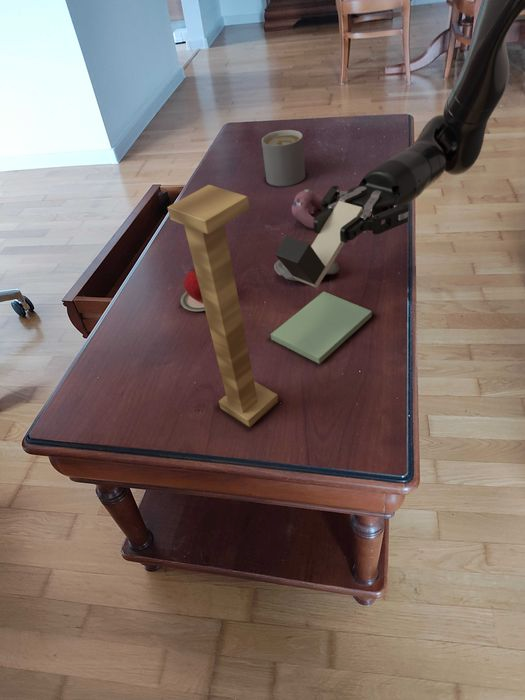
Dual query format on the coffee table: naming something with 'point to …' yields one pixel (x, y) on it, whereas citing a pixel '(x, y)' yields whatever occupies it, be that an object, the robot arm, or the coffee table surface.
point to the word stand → (222, 296)
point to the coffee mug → (283, 157)
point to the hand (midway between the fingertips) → (329, 231)
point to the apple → (192, 293)
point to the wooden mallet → (317, 247)
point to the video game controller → (306, 207)
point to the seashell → (283, 271)
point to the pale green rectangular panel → (321, 326)
